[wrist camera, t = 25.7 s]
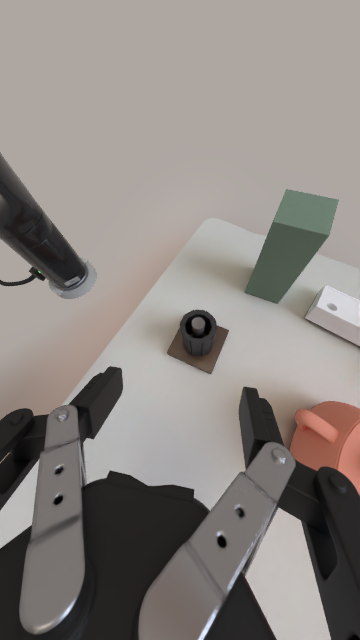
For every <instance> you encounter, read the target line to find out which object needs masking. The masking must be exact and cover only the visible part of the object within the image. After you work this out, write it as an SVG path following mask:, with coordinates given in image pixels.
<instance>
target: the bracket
mask: <svg viewBox="0 0 360 640" xmlns="http://www.w3.org/2000/svg"><path fill="white" fill-rule="evenodd" d="M305 318H306V319H308V320H310V321H312V322H314V323H316V324H318V325H320V326H322V327H323V328H325V329H327V330H329V331H331V332H333V333H335V334H337V335H339V336H341V337H343V338H345V339H347V340H348V341H350V342H352V343H354V344H356V345H358V346H360V300H357V299H355V298H353V297H351V296H349V295H346V294H344V293H342V292H340V291H338V290H336V289H333V288H331V287H329V286H327V285H325V286H324V287H323V288H322V289H321V290H320V292H319V293H318V294H317V296H316V298H315V300H314V302H313V304H312V305H311V306H310V308H309V310H308V313H307V315H306V317H305Z"/></svg>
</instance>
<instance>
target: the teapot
mask: <svg viewBox="0 0 360 640" xmlns="http://www.w3.org/2000/svg"><path fill="white" fill-rule="evenodd" d="M295 420H296V423H297V424H298V426H297V428H296V431H295V433H294V436H293V439H292V443H291V448H290V452H291V453H292V455H293V456H294V459H295V460H297V461H298V462H300V463H302V464H304V465H306V466H308V467H310V468H312V469H314V470H316V471H318V469H319V468H320V467H323V466H327V467H331V468H334V469H336V470H338V471H340V472H341V473H343V474H344V475H345V476H346V477H347V478H348V479H349V480H350V481H351V482H352V483H353V485H354V486H355V488H356V490H357V492H358V493H359V495H360V409H359V408H357V407H355V406H352V405H349V404H346V403H342V402H335V401H327V402H322V403H320V404H318V405H317V406H315V407H313V408H312V409H311V410H310V411H308V410H305V409H300V410H298V411H297V412H296V414H295Z"/></svg>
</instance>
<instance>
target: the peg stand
mask: <svg viewBox="0 0 360 640" xmlns="http://www.w3.org/2000/svg"><path fill="white" fill-rule="evenodd" d="M204 329H205V321H204V320H203V319H202V318H200V317H196V318H194V319H193V320H192V334H191V335H190V336H191V337H192V338H199V339H202V338H204V337H205V336H207V335H205V334H204ZM228 332H229V330H227V329H224V328H222V327H219V326H217V331H216V336H215V340H214V344H213V346H212V349H211V351H210V352H209V353H207V354H205V355H204V356H202V355H201V356H193V355H191V354H190V353H189V352H188V351H186V350H185V348H184V343H183V339H182V334H181V329H180V328H179V330H178V332H177V334H176V336H175V338H174V340H173V342H172V344H171V346H170V348H169V350H168V352H167V354H168V355H170V356H172V357H175V358H177V359H179V360H181V361H183V362H185V363H188V364H190V365H192V366H194V367H196V368H198V369H200V370H203V371H205V372H207V373H209V374H211V373H212V370H213V368H214V366H215V363H216V361H217V358H218V356H219V354H220V351H221V349H222V346H223V344H224V341H225V339H226V337H227V334H228Z"/></svg>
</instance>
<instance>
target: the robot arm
mask: <svg viewBox="0 0 360 640" xmlns="http://www.w3.org/2000/svg"><path fill="white" fill-rule="evenodd" d="M0 239H1V240H3V241H4V242H5V243H6V244H7V245H8V246H10V247H11V248H12V249H13V250H14V251H15V252H17V253H18V254H19V255H20V256H21V257H22V258H24V259H25V260H26V261H27V262H28V263H29V264H31V265H32V266H33V267H32V268H31V269H30V271H29V272H30V273H32V275H31V276H30V277H29V278H28V279H25V280H23V281H19V282H3V281H1V280H0V284H1V285H4V286H17V285H22V284H26V283H28V282H31V281H32V280H33V279H35V278H38V279H40V280H42V281H44V280H45V278H47V279H48V280H49V281H50V282H51V283H52V284H53V285H54V286H55V287H56V288H58V289H60V290H63V291H69V290H73V289H76V288H78V287H79V286H81V285H82V284H83V283H84V282H85V280H86V279H87V277H88V272H89V271H88V267H87V266H86V264H85V263H84V262H83V261H82V260H81V259H80V257H79V256H78V255H77V253H76V252H75V251H74V249H73V248H72V247H71V246H70V244H69V243H68V242H67V240H66V239H65V238H64V237H63V235H62V234H61V233H60V232H59V231H58V229H57V228H56V227H55V225H54V224H53V223H52V221H51V220H50V219H49V218H48V216H47V215H46V214H45V212H44V211H43V210H42V209H41V207H40V206H39V205H38V204H37V202H36V201H35V200H34V198H33V197H32V195H31V194H30V193H29V191H28V190H27V188H26V187H25V186H24V184H23V183H22V182H21V180H20V179H19V178H18V176H17V175H16V174H15V172H14V171H13V170H12V168H11V167H10V166H9V164H8V163H7V161H6V160H5V159H4V157H3V156H2V154H1V153H0ZM122 390H123V380H122V369H121V368H117V367H111V366H110V367H108V368H107V370H106V371H105V372H104V373H99V374H98V375H96V376H94V377H93V378H92V379H91V380H90V381H89V383H88V384H87V385H86V386H85V387H84V388H83V389H82V390H81V391H80V392H79V394H78V395H77V396H76V397H75V398H74V399H73V400H72V401H71V402H70V404H69V405H64V406H61V407H58V408H56V409H55V410H53V411H52V412H51V413H50V414H48V415H38V416H34V415H33V412H32V410H30V409H26V408H24V409H18V410H15V411H13V412H11V413H9V414H8V415H6V416H5V417H4V418H3V419H1V420H0V462H1V461H2V459H3V458H4V457H5V456H6V455H7V454H8V453H9V455H8V456H7V457H6V458H5V459H4V460H3V461H2V462H1V463H0V510H1V509H2V507H3V506H4V505H5V503H6V502H7V501H8V499H9V498H10V497H11V495H12V494H13V493H14V491H15V490H16V489H17V487H18V486H19V485H20V483H21V482H22V481H23V480H24V478H25V477H26V476H27V474H28V473H29V472H30V470H31V469H32V468H33V466H34V465H35V464H36V462H37V461H38V460H39V459H40V460H39V469H38V478H37V486H36V495H35V504H34V513H33V522H32V525H31V526H30V527H28V528H27V529H26V530H25V531H23V532H22V533H21V534H19V535H18V536H17V537H15V538H14V539H13V540H11V541H10V542H9V543H7V544H6V545H5V546H3V547H2V548H1V549H0V640H277V639H276V637H275V635H274V634H273V632H272V630H271V628H270V626H269V624H268V622H267V620H266V618H265V616H264V614H263V612H262V610H261V608H260V606H259V604H258V602H257V600H256V598H255V596H254V594H253V592H252V590H251V588H250V586H249V584H248V582H247V580H246V578H245V576H246V574H247V572H248V570H249V568H250V566H251V564H252V562H253V559H254V557H255V555H256V553H257V551H258V549H259V546H260V544H261V542H262V540H263V538H264V536H265V534H266V532H267V530H268V528H269V526H270V524H271V522H272V520H273V518H274V516H275V514H276V512H277V510H278V508H281V509H282V510H284V511H286V512H288V513H289V514H291V515H293V516H294V517H296V518H298V519H300V520H301V522H302V526H303V530H304V534H305V538H306V542H307V546H308V550H309V554H310V558H311V562H312V566H313V569H314V573H315V577H316V581H317V585H318V589H319V593H320V597H321V601H322V605H323V609H324V613H325V617H326V621H327V624H328V628H329V632H330V636H331V640H360V495H359V493H358V492H357V490H356V488H355V486H354V485H353V483H352V482H351V481H350V480H349V479H348V478H347V477H346V476H345V475H344V474H343V473H341V472H340V471H338V470H336V469H334V468H331V467H327V466H323V467H320V468H319V469H318V471H316V470H314V469H312V468H310V467H308V466H306V465H304V464H302V463H300V462H298V461H297V460H295V459H294V456H293V455H292V453H291V452H290V451H289V450H288V449H287V448H286V447H285V446H284V443H283V440H282V437H281V434H280V431H279V428H278V425H277V422H276V419H275V416H274V414H273V410H272V407H271V405H270V404H269V403H268V401H267V400H266V399H264V398H259V395H258V392H257V389H256V388H249V387H243V391H242V395H241V400H240V405H239V420H240V428H241V436H242V444H243V451H244V459H245V467H246V471H245V472H244V473H243V472H240V473H239V474H238V475H237V477H236V478H235V479H234V481H233V482H232V483H231V485H230V486H229V487H228V489H227V490H226V491H225V492H224V494H223V495H222V496H221V498H220V499H219V500H218V502H217V503H216V504H215V506H214V507H213V508H212V510H211V511H209V510H208V508H207V507H206V506H205V505H204V504H202V503H201V502H200V501H198V500H197V499H195V498H194V489H190V488H185V487H181V486H176V485H162V486H147V485H146V484H144V483H142V482H140V481H139V480H137V479H135V478H134V477H132V476H130V475H127V474H122V473H118V472H114V471H109V474H108V476H107V478H104V479H99V480H96V481H93V482H91V483H89V484H87V478H86V468H85V456H84V445H83V442H84V441H85V439H86V438H90V439H94V438H95V436H96V435H97V433H98V431H99V430H100V428H101V427H102V425H103V423H104V422H105V420H106V419H107V417H108V415H109V414H110V412H111V410H112V409H113V407H114V406H115V404H116V402H117V401H118V399H119V398H120V396H121V394H122Z"/></svg>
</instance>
